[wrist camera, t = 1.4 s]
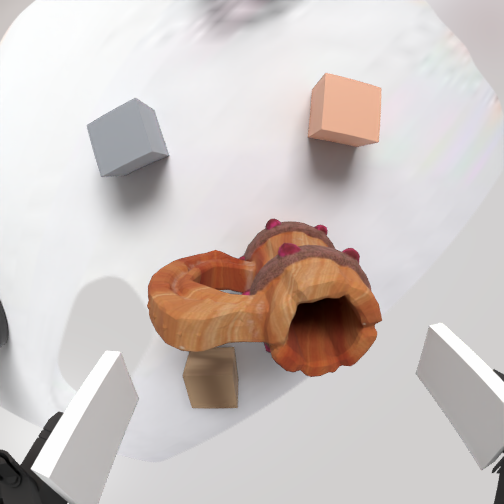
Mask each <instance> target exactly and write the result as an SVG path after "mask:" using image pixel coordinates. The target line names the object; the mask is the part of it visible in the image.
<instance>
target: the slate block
mask: <svg viewBox="0 0 504 504" xmlns="http://www.w3.org/2000/svg"><path fill="white" fill-rule="evenodd" d="M87 129H88V133H89V136H90V140H91V144H92V147H93V151H94V155H95V158H96V161H97V165H98V168H99V171H100V174H101V177H107V176H125V175H127V174H129V173H131V172H133V171H135V170H138V169H140V168H142V167H144V166H146V165H148V164H150V163H153V162H155V161H157V160H159V159H162V158H164V157H166V156H169V153H168V150H167V147H166V144H165V141H164V138H163V135H162V132H161V129H160V126H159V123H158V120H157V117H156V114H155V111H154V110H153V109H152V108H150V107H149V106H147V105H146V104H144V103H143V102H141V101H140V100H138V99H137V98H134V99H132V100H130V101H129V102H127V103H125V104H123V105H121V106H119V107H117V108H115V109H114V110H112V111H110V112H108V113H106V114H105V115H103V116H101V117H100V118H98V119H96V120H94V121H93V122H91V123H90V124H88V125H87Z"/></svg>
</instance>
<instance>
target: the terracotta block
mask: <svg viewBox="0 0 504 504" xmlns="http://www.w3.org/2000/svg"><path fill="white" fill-rule="evenodd" d="M380 114H381V88H379V87H376V86H373V85H370V84H367V83H363V82H360V81H356V80H352V79H349V78H345V77H341V76H337V75H333V74H328V73H325V74H324V76H323V77H322V78H321V79H320V80H319V82H318V83H317V84H316V85H315V87H314V88H313V89H312V97H311V108H310V119H309V130H308V138H314V139H320V140H325V141H330V142H335V143H340V144H345V145H350V146H354V147H359V146H364V145H368V144H373V143H378V142H379V131H380Z"/></svg>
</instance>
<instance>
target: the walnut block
mask: <svg viewBox="0 0 504 504" xmlns="http://www.w3.org/2000/svg"><path fill="white" fill-rule="evenodd" d="M183 379H184V382H185V386H186V389H187V393H188V396H189V399H190V403H191V406H192V408H238V373H237V365H236V358H235V350H234V347H221V348H211V349H208V350H205V351H199V352H193V351H190V352H189V355H188V358H187V362H186V365H185V369H184V372H183Z"/></svg>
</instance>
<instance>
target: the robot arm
mask: <svg viewBox="0 0 504 504" xmlns="http://www.w3.org/2000/svg"><path fill="white" fill-rule="evenodd" d="M7 338H8V327H7V321H6V317H5V314H4V310H3V308H2V305H1V302H0V348H1V347H2V346H3V345H4V344H5V343H6V341H7ZM416 375H417V376H418V377H419V379H420V380H421V381H422V383H423V384H424V385H425V387H426V388H427V389H428V391H429V392H430V394H431V395H432V397H433V398H434V399H435V401H436V402H437V404H438V405H439V407H440V408H441V409H442V410H443V412H444V413H445V415H446V417H447V418H448V419H449V421H450V422H451V424H452V425H453V427H454V428H455V430H456V431H457V433H458V434H459V436H460V437H461V439H462V440H463V442H464V443H465V445H466V447H467V448H468V450H469V451H470V453H471V454H472V456H473V458H474V459H475V461H476V462H477V464H478V466H479V467H480V469H481V470H483V469H484V468H486V467H487V466H489V465H490V464H492V463H493V462H494V461H495V460H496V459H497V458H498V457H499V455H501V453H502V452H503V453H504V374H502V373H500V372H498V371H496V370H492V369H491V368H490V367H488V366H487V364H486V363H485V362H483V361H482V360H481V359H480V358H479V357H478V356H477V355H476V354H475V353H474V352H473V351H472V350H471V349H470V348H469V347H468V346H467V345H466V344H465V343H463V342H462V341H461V340H460V339H459V338H458V337H457V336H456V335H454V333H453V332H451V331H450V330H449V329H448V328H447V327H446V326H445V325H444V324H442V323H438V324H434V325H430V326H429V328H428V332H427V336H426V340H425V344H424V348H423V351H422V354H421V358H420V361H419V365H418V368H417V371H416ZM138 400H139V397H138V395H137V392H136V390H135V388H134V385H133V383H132V380H131V378H130V375H129V372H128V370H127V367H126V364H125V362H124V359H123V356H122V354H121V352H117V351H105V353H104V354H103V356H102V357H101V358H100V360H99V362H98V363H97V364H96V366H95V367H94V368H93V370H92V371H91V373H90V374H89V376H88V377H87V379H86V380H85V382H84V383H83V385H82V386H81V388H80V389H79V391H78V392H77V394H76V395H75V397H74V398H73V400H72V401H71V403H70V404H69V406H68V407H67V409H66V410H65V412H64V413H62V412H57V413H56V414H55V415H54V416H52V417H51V418H50V419H49V420H48V422H47V423H46V425H45V426H44V428H43V429H44V430H42V431H41V433H40V434H39V438H37V439H36V441H35V442H34V444H33V446H32V447H31V449H30V451H29V452H28V454H27V456H26V457H25V459H24V461H23V462H22V464H21V465H19V464H18V463H17V462H16V461H15V460H14V459H13V458H12V456H11V455H10V454H9V453H8V452H7V451H4V450H0V504H67V503H69V504H98V503H99V500H100V497H101V495H102V492H103V489H104V486H105V483H106V481H107V478H108V475H109V473H110V469H111V467H112V465H113V462H114V459H115V457H116V454H117V452H118V449H119V446H120V444H121V441H122V439H123V436H124V434H125V431H126V429H127V426H128V424H129V422H130V419H131V417H132V414H133V412H134V409H135V407H136V405H137V402H138ZM500 466H501V468H500V469H499V470H498V471H497V473H500V475H499V481H498V487H497V492H496V496H495V501H494V504H504V457H503V458H502V459H501V460H500V461H499V462H498V463H497V464H496V466H495V467H494V468H493V470H492V473H494V472H495V471H496V470H497V469H498V468H499V467H500Z"/></svg>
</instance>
